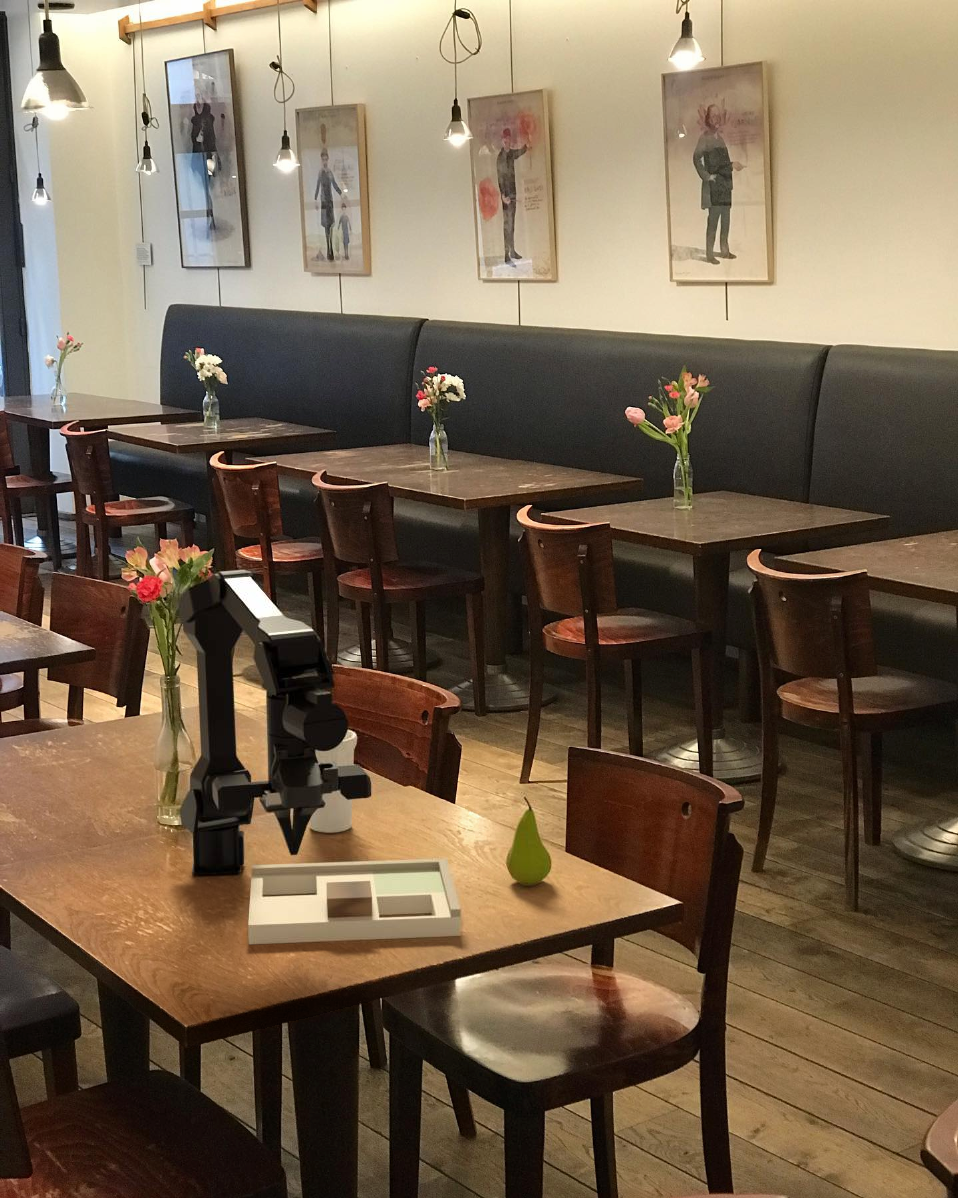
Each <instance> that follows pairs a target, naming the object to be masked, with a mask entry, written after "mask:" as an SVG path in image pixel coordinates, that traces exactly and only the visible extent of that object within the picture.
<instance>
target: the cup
mask: <svg viewBox="0 0 958 1198" xmlns="http://www.w3.org/2000/svg"><path fill="white" fill-rule="evenodd" d="M357 742H358V736H357V733H356V731H352V730H350V729H348V731H347V733H346V736H345V738H344V739H343V741H342V742H341V743H340V744H339V745H338V746H337V747H335V748H334V749H332V750H329V751H318V750H316V757H317V760H318V763H327V762H336V764H337V766H348V765H354V758H355V756H354V755H355V748H356V746H357ZM322 796H323V800H324V802H325V807H324V808H319V809H317V810H316V811H315V812H314V813H313V815H312V816H311V818H310V821H309V828H310V829H312V830H313V831H314V832H315V831H316V832H320V833H327V834H329V833H340V832H345V831H347V830H349V829H351V827H352V826H353V824H352V821H353V820H352V819H353V799H350V800H347V799H346V798H345V797H344V796H343V795H341V793H340V790H337V791H334V792H332V793H329V794H324V795H322Z"/></svg>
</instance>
